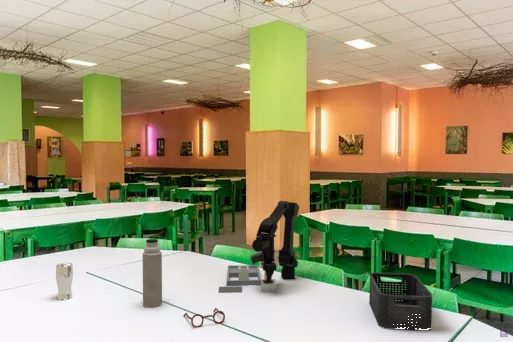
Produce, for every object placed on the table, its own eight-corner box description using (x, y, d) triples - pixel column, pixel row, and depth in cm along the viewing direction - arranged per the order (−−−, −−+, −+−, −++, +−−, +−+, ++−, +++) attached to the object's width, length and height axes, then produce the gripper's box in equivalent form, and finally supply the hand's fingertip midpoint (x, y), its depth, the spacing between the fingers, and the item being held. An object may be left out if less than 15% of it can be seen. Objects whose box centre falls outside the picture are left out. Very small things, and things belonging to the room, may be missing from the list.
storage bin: (434, 332, 151) (434, 295, 150) (379, 329, 153) (379, 293, 152) (413, 304, 179) (414, 273, 178) (368, 302, 181) (368, 272, 181)
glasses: (191, 329, 153) (191, 316, 153) (183, 317, 165) (183, 304, 165) (225, 323, 159) (225, 310, 158) (214, 312, 171) (214, 300, 170)
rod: (271, 282, 200) (271, 266, 199) (272, 285, 196) (272, 268, 196) (264, 282, 200) (264, 266, 199) (264, 285, 196) (264, 268, 196)
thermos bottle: (149, 300, 183) (149, 237, 182) (165, 302, 181) (165, 238, 180) (139, 306, 176) (138, 240, 175) (155, 308, 173) (154, 241, 172)
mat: (241, 286, 202) (241, 286, 202) (242, 292, 194) (242, 291, 194) (219, 287, 201) (219, 286, 201) (218, 292, 193) (218, 292, 193)
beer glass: (76, 296, 188) (76, 263, 187) (63, 301, 182) (63, 267, 181) (65, 294, 191) (65, 262, 190) (52, 299, 185) (52, 265, 184)
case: (258, 268, 235) (258, 264, 235) (261, 285, 204) (261, 280, 204) (227, 269, 234) (227, 264, 234) (226, 285, 204) (226, 280, 203)
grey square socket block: (274, 287, 202) (274, 279, 201) (276, 291, 195) (276, 283, 194) (260, 287, 201) (260, 279, 201) (261, 292, 194) (261, 284, 194)
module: (248, 279, 214) (248, 265, 214) (248, 282, 209) (248, 267, 209) (238, 279, 214) (238, 265, 214) (238, 282, 209) (238, 267, 209)
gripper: (250, 243, 206) (250, 274, 207) (251, 252, 188) (252, 286, 188) (273, 243, 207) (273, 274, 207) (276, 252, 188) (276, 286, 189)
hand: (268, 280), depth 198 cm, fingers closed on rod, 3 cm apart
